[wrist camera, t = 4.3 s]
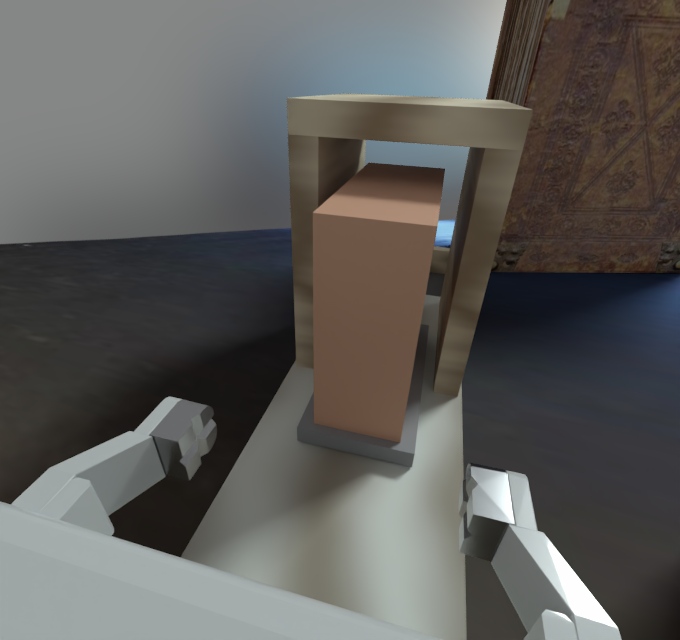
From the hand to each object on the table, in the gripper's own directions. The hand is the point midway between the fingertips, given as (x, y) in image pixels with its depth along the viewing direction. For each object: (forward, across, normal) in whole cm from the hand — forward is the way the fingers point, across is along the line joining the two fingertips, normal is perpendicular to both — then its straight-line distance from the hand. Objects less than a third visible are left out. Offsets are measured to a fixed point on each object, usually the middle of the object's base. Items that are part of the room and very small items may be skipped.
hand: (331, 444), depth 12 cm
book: (+44, -19, +9) cm, 49 cm away
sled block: (+11, 0, +6) cm, 13 cm away
